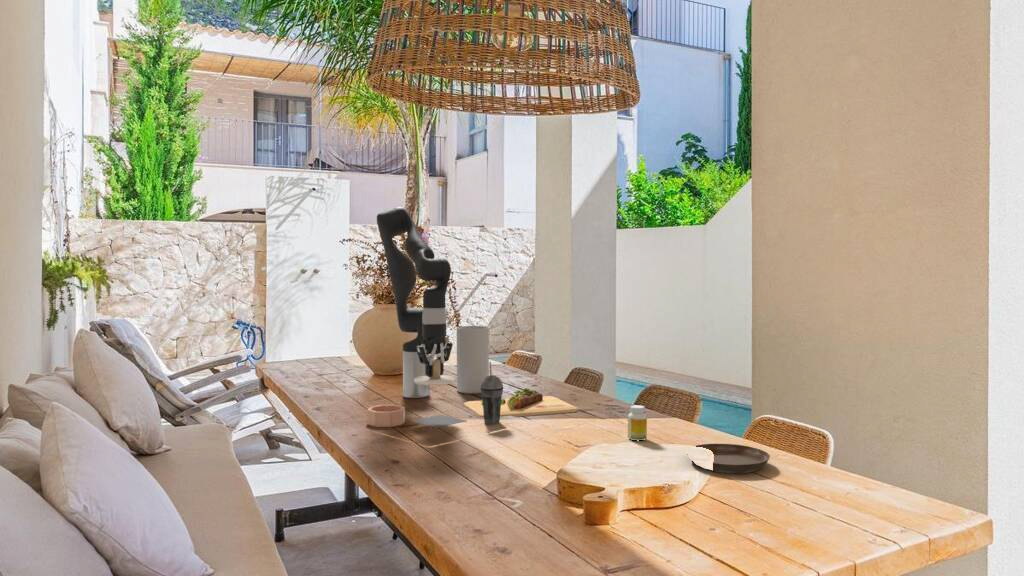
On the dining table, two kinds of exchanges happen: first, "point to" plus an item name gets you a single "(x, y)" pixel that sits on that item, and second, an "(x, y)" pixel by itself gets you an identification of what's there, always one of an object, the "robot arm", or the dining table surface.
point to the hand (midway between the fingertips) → (434, 375)
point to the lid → (435, 376)
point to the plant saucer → (736, 458)
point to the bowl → (386, 415)
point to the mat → (438, 421)
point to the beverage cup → (491, 398)
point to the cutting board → (526, 405)
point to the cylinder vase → (472, 358)
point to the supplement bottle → (637, 423)
